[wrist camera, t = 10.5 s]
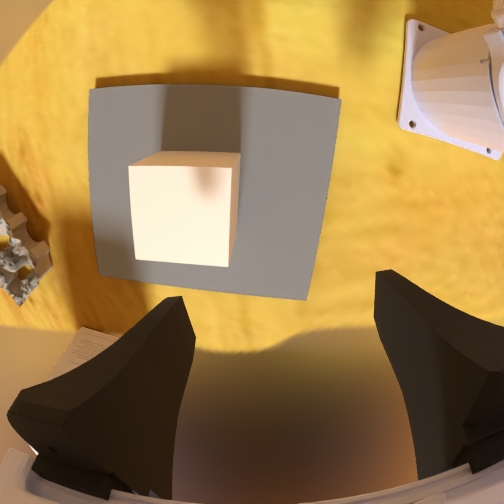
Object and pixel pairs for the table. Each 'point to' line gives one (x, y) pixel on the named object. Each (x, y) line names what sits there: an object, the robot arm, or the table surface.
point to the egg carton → (20, 254)
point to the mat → (250, 183)
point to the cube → (185, 206)
